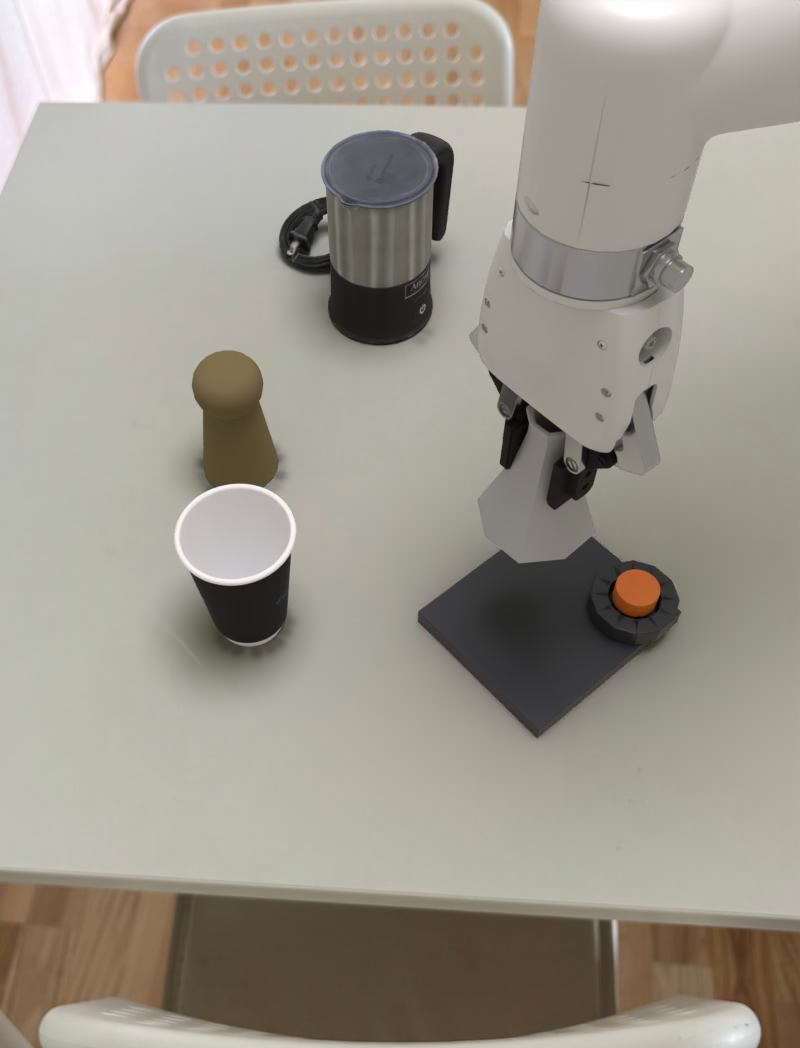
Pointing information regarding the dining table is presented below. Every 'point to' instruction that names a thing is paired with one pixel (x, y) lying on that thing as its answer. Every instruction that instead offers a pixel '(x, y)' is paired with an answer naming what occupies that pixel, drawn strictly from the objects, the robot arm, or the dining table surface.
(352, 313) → the milk frother
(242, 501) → the dixie cup
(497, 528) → the flask
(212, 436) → the brown pawn
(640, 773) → the dining table surface
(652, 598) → the power button
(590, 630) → the dark grey base plate
